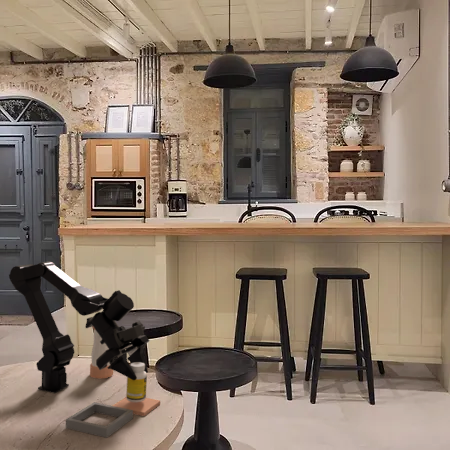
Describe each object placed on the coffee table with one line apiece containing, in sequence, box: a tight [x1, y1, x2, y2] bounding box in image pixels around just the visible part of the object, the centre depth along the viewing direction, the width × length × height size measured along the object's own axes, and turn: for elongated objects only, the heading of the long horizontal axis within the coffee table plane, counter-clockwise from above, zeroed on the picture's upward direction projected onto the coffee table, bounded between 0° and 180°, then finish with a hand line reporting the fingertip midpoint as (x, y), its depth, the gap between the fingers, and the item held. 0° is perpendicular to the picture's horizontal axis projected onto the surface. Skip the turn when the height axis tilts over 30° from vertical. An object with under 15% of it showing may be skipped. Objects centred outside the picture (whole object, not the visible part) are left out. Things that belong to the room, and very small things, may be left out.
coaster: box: [112, 396, 161, 417], centre depth 145 cm, size 10×9×1 cm
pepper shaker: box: [89, 326, 114, 380], centre depth 168 cm, size 7×7×19 cm
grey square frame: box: [65, 401, 134, 438], centre depth 134 cm, size 12×12×2 cm
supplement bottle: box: [125, 362, 148, 402], centre depth 145 cm, size 5×5×10 cm
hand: (141, 376), depth 144 cm, fingers closed on supplement bottle, 5 cm apart
